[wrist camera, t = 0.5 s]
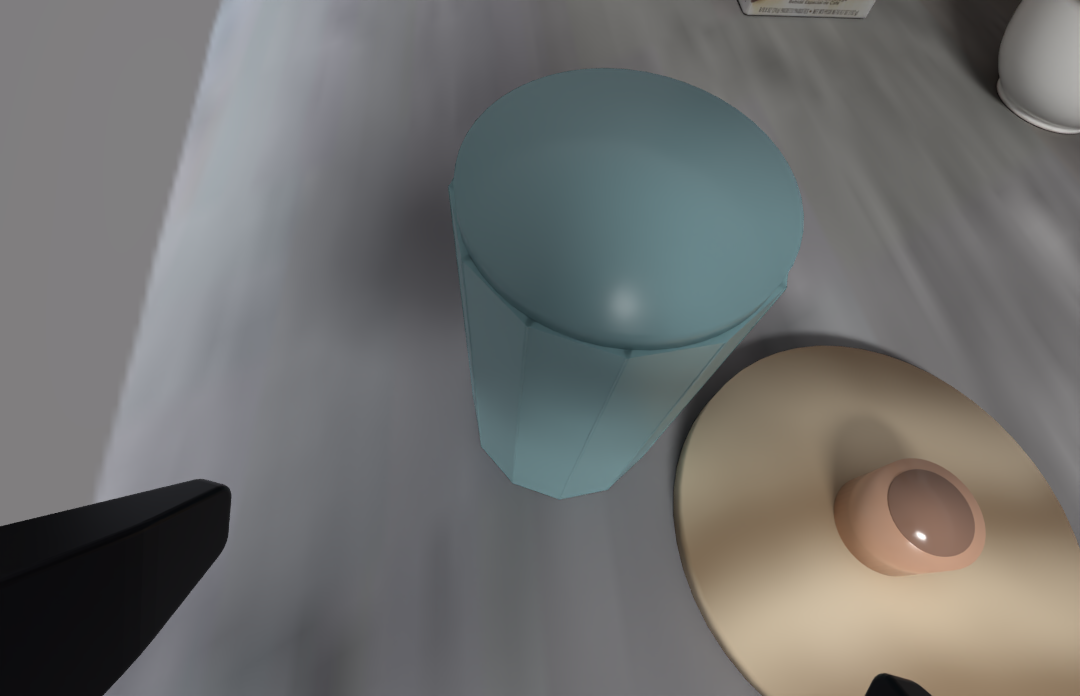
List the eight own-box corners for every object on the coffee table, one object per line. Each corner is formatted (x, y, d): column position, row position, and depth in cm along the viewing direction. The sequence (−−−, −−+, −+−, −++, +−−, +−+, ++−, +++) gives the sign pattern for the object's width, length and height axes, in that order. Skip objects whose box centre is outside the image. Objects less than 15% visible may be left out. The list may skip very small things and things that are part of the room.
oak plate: (1151, 704, 19) (1190, 709, 18) (761, 827, 16) (780, 841, 15) (928, 335, 25) (946, 322, 24) (627, 386, 23) (634, 375, 22)
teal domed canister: (670, 477, 21) (872, 306, 10) (492, 513, 20) (480, 368, 9) (621, 323, 24) (729, 56, 13) (464, 347, 23) (429, 78, 12)
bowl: (949, 564, 19) (1010, 556, 17) (861, 586, 19) (911, 581, 16) (899, 468, 21) (948, 448, 19) (817, 485, 20) (857, 468, 18)
